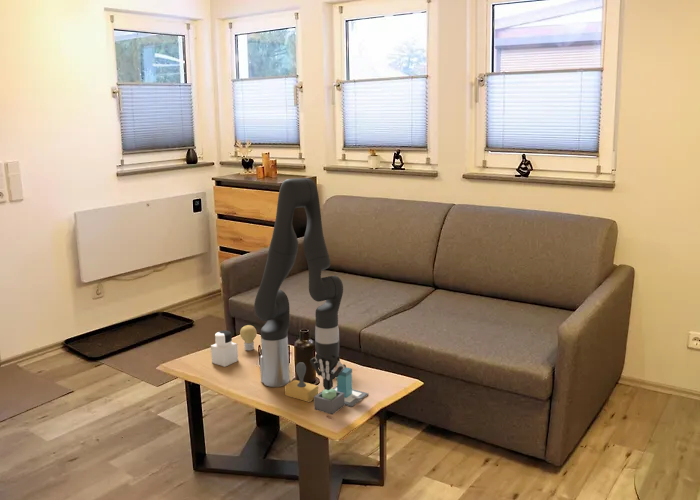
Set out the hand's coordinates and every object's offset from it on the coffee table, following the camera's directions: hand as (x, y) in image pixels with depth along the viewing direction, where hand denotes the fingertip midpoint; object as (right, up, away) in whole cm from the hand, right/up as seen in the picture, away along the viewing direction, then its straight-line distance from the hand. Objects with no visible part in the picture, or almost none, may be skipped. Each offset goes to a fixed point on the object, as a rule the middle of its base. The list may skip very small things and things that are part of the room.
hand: (328, 388), depth 211 cm
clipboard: (+5, -4, +9) cm, 11 cm away
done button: (0, -5, +1) cm, 5 cm away
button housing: (0, -6, +2) cm, 7 cm away
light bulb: (-33, +5, +50) cm, 60 cm away
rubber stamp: (-9, -5, +11) cm, 15 cm away
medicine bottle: (-40, +2, +39) cm, 56 cm away
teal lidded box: (+5, -4, +9) cm, 11 cm away
